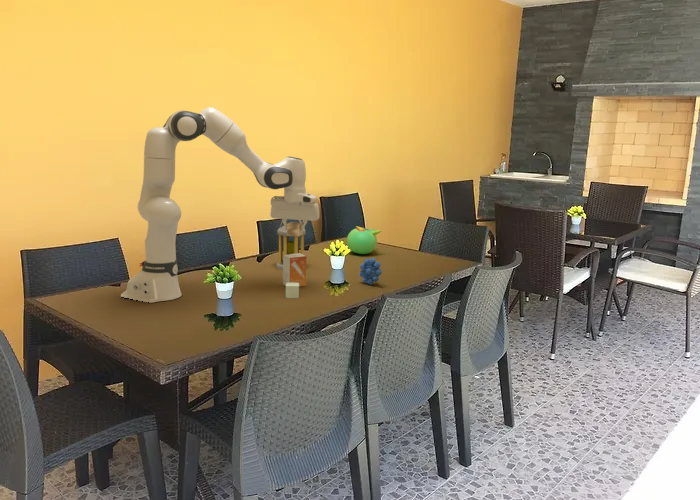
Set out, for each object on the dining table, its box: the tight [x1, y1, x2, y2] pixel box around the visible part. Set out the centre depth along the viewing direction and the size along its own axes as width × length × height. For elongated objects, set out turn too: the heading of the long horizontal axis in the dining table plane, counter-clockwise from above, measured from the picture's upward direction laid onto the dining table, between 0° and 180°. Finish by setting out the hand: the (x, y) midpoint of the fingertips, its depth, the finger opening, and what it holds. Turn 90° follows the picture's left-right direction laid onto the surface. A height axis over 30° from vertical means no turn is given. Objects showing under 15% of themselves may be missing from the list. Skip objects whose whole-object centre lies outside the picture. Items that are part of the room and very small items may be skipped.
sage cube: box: [285, 283, 300, 299], centre depth 227 cm, size 5×5×5 cm
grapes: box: [359, 257, 382, 286], centre depth 247 cm, size 12×7×12 cm, turn 50°
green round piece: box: [346, 225, 382, 255], centre depth 309 cm, size 18×17×15 cm
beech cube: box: [287, 221, 303, 238], centre depth 239 cm, size 5×5×5 cm
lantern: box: [275, 220, 307, 271], centre depth 273 cm, size 14×14×25 cm
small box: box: [282, 252, 308, 288], centre depth 243 cm, size 8×6×13 cm
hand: (294, 230), depth 239 cm, fingers closed on beech cube, 5 cm apart
